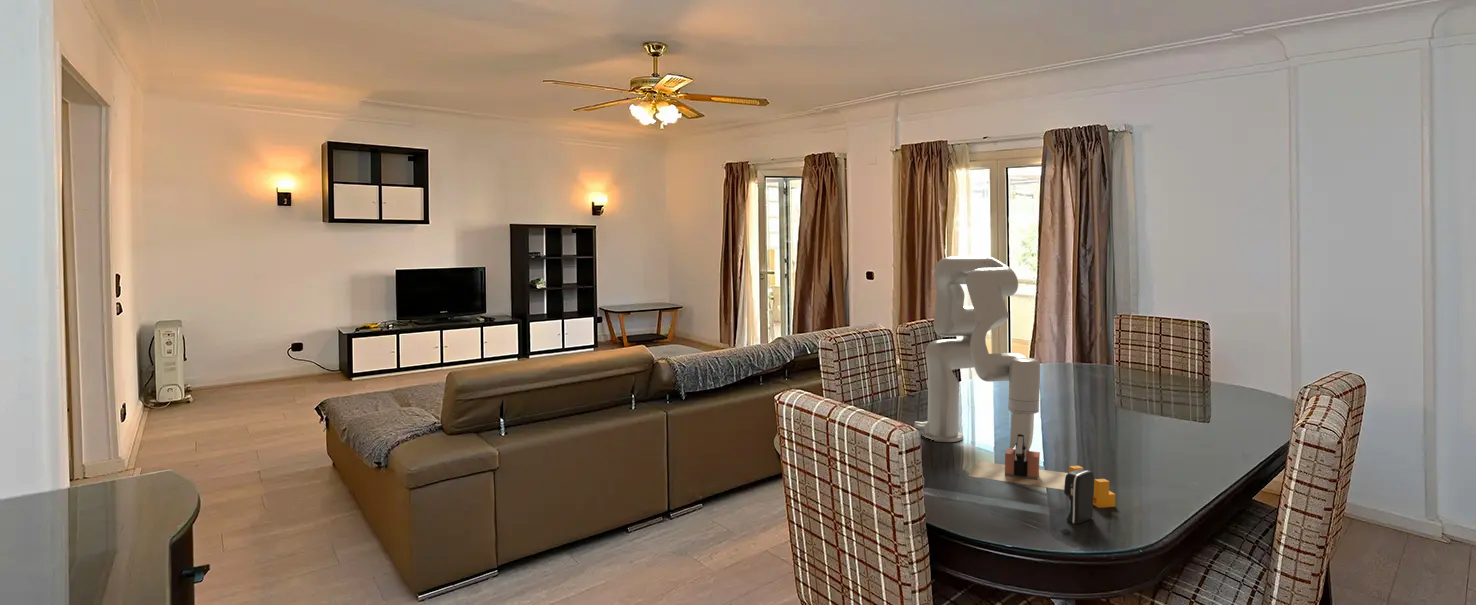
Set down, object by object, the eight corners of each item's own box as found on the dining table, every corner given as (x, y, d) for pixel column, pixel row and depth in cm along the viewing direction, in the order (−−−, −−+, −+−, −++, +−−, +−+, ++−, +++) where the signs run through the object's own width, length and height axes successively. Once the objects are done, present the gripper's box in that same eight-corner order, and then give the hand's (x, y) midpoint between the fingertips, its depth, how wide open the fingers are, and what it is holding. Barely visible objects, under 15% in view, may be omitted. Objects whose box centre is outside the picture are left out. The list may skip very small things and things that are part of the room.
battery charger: (1077, 513, 170) (1079, 465, 169) (1093, 518, 167) (1095, 470, 166) (1060, 520, 166) (1062, 471, 165) (1076, 525, 163) (1078, 476, 162)
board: (968, 481, 192) (968, 476, 192) (977, 466, 205) (977, 461, 205) (1067, 496, 181) (1067, 490, 181) (1070, 479, 194) (1071, 473, 194)
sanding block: (1004, 475, 192) (1005, 453, 192) (1007, 470, 197) (1007, 448, 196) (1037, 480, 189) (1037, 457, 188) (1039, 474, 193) (1039, 452, 192)
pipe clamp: (1115, 507, 174) (1116, 481, 174) (1098, 508, 174) (1099, 482, 173) (1084, 489, 186) (1085, 465, 185) (1068, 490, 185) (1069, 466, 185)
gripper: (1012, 397, 200) (1010, 461, 202) (1004, 410, 185) (1002, 480, 187) (1041, 399, 197) (1039, 465, 198) (1035, 413, 182) (1033, 484, 183)
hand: (1021, 471), depth 193 cm, fingers closed on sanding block, 5 cm apart
